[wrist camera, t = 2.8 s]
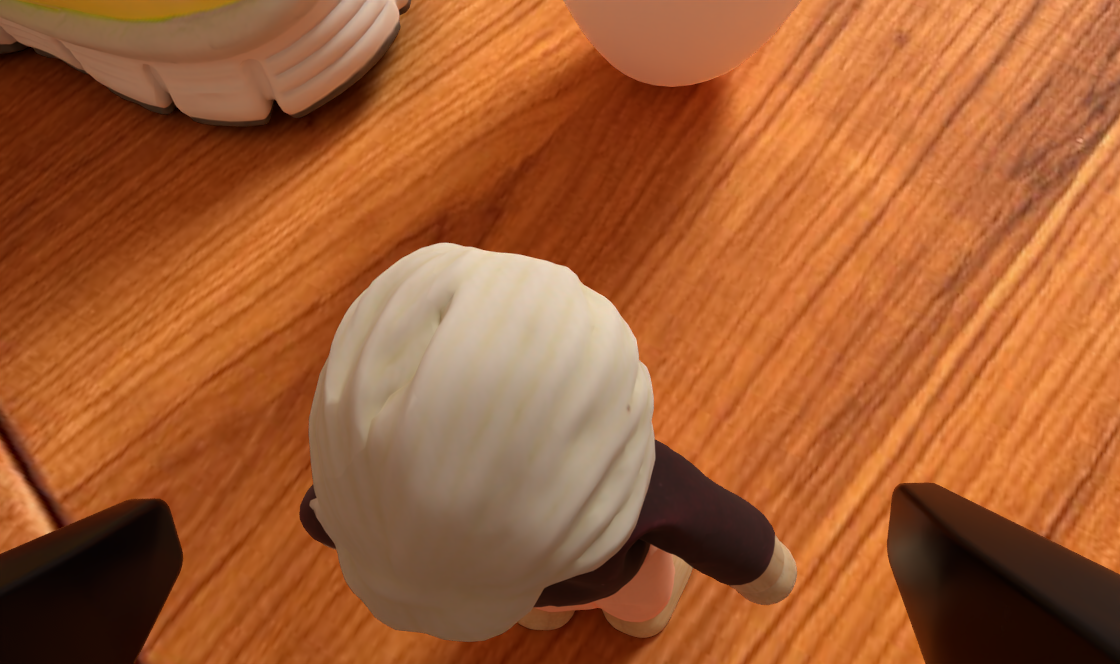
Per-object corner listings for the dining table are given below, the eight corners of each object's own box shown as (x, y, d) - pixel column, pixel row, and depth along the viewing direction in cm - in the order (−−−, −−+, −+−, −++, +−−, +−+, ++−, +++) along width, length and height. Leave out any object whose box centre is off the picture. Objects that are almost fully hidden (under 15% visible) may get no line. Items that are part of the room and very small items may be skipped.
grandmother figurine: (721, 469, 17) (893, 86, 6) (752, 640, 16) (1078, 572, 4) (412, 501, 18) (8, 198, 6) (410, 670, 16) (-148, 683, 5)
